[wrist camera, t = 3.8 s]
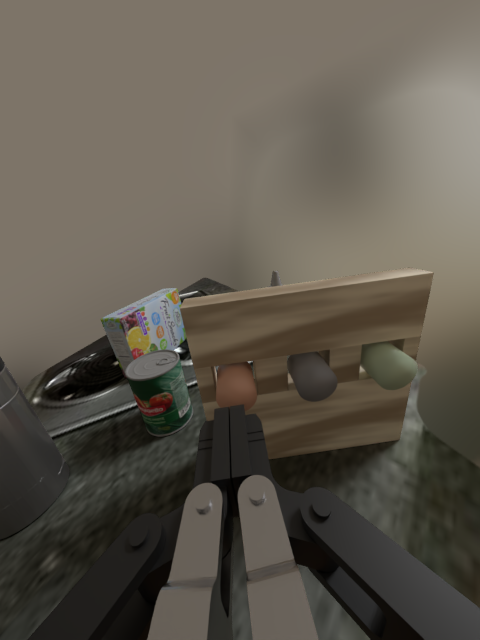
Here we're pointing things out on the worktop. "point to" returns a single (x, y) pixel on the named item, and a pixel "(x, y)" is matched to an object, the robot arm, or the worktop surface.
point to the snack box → (145, 326)
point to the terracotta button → (235, 385)
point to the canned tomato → (160, 391)
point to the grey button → (311, 376)
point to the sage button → (388, 365)
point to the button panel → (309, 336)
